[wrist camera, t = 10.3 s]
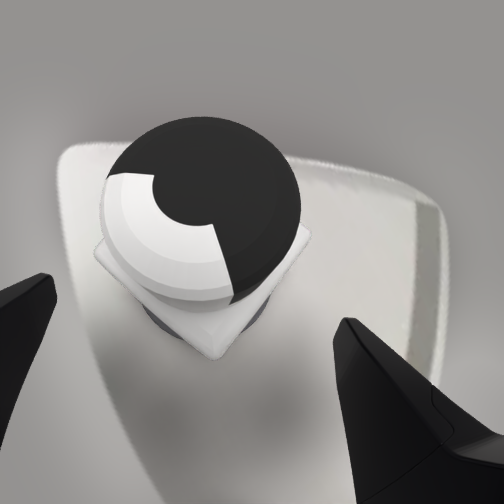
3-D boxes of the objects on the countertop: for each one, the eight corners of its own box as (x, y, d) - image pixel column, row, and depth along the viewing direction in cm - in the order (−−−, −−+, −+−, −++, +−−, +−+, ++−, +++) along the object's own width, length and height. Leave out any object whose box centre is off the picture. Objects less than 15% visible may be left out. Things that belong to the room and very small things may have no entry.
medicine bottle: (198, 204, 21) (193, 65, 9) (281, 268, 20) (366, 177, 9) (128, 283, 18) (33, 204, 7) (213, 355, 18) (218, 381, 7)
